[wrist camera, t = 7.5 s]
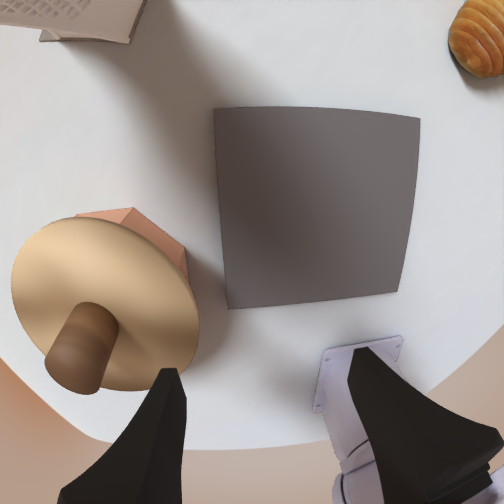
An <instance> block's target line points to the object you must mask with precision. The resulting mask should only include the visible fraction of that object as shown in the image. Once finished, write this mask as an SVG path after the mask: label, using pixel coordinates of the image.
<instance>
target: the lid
mask: <svg viewBox="0 0 504 504" xmlns="http://www.w3.org/2000/svg"><path fill="white" fill-rule="evenodd" d="M11 293H12V299H13V303H14V307H15V310H16V313H17V316H18V318H19V320H20V322H21V324H22V326H23V328H24V330H25V331H26V333H27V335H28V336H29V338H30V339H31V340H32V342H33V343H34V344H35V346H36V347H37V348H38V349H39V350H40V351H41V352H42V353H43V354H44V355H45V356H46V358H45V367H46V369H47V371H48V373H49V374H50V376H51V377H52V378H53V379H54V380H55V381H56V382H57V383H58V384H60V385H61V386H62V387H64V388H66V389H68V390H70V391H72V392H75V393H78V394H83V395H90V394H94V393H96V392H97V391H98V390H99V388H100V387H101V388H106V389H110V390H117V391H143V390H149V389H150V388H151V387H152V385H153V383H154V381H155V379H156V377H157V375H158V373H159V371H160V369H162V368H177V371H178V374H179V375H180V374H181V373H182V372H183V371H184V370H185V369H186V368H187V367H188V365H189V364H190V362H191V361H192V359H193V357H194V355H195V352H196V349H197V345H198V337H199V313H198V308H197V303H196V301H195V298H194V295H193V292H192V290H191V288H190V286H189V284H188V282H187V280H186V279H185V277H184V276H183V274H182V273H181V271H180V270H179V268H178V267H177V266H176V265H175V264H174V263H173V261H172V260H171V259H170V258H169V257H168V256H167V255H166V254H165V253H164V252H163V251H162V250H161V249H160V248H158V247H157V246H156V245H155V244H153V243H152V242H151V241H149V240H148V239H147V238H145V237H144V236H142V235H140V234H138V233H137V232H135V231H133V230H131V229H130V228H127V227H125V226H122V225H120V224H118V223H115V222H111V221H108V220H104V219H100V218H93V217H71V218H65V219H61V220H58V221H55V222H52V223H50V224H48V225H46V226H45V227H43V228H41V229H40V230H39V231H38V232H36V233H35V234H34V235H33V236H32V237H31V238H29V239H28V240H27V241H26V242H25V244H24V245H23V246H22V247H21V249H20V250H19V252H18V254H17V256H16V258H15V261H14V264H13V268H12V274H11Z"/></svg>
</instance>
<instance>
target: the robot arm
mask: <svg viewBox="0 0 504 504" xmlns="http://www.w3.org/2000/svg"><path fill="white" fill-rule="evenodd" d="M403 341H404V339H403V337H402V336H396V337H391V338H387V339H382V340H376V341H371V342H366V343H360V344H355V345H349V346H343V347H336V348H330V349H326V350H324V352H323V353H322V359H321V365H320V371H319V376H318V382H317V387H316V393H315V398H314V403H313V408H312V410H313V413H320V412H322V413H323V416H324V419H325V422H326V426H327V429H328V432H329V436H330V439H331V442H332V445H333V449H334V452H335V454H336V457H337V458H338V460H339V461H340V466H341V469H342V472H341V473H340V474H338V475H337V476H336V478H335V481H334V485H333V489H332V498H333V504H504V465H503V466H501V467H500V468H498V469H497V470H495V471H494V472H493V473H492V474H490V475H489V473H488V470H489V469H490V466H489V464H488V462H489V461H490V460H491V459H492V458H493V457H494V456H495V455H496V454H497V453H498V452H499V451H500V450H501V449H502V448H503V446H504V440H503V439H502V437H501V436H500V434H499V432H498V430H497V429H496V428H493V427H490V426H486V425H483V424H480V423H476V422H474V421H471V420H469V419H466V418H464V417H462V416H460V415H457V414H455V413H453V412H451V411H449V410H447V409H446V408H444V407H442V406H440V405H438V404H437V403H435V402H434V401H432V400H431V399H429V398H427V397H426V396H425V395H423V394H422V393H420V392H419V391H418V390H416V389H415V388H414V387H412V386H411V385H410V384H409V383H407V381H406V380H405V378H404V376H403V374H402V373H401V371H400V369H399V368H398V366H397V364H396V361H397V358H398V355H399V353H400V350H401V347H402V344H403ZM326 358H327V359H326ZM186 420H187V398H186V395H185V392H184V389H183V386H182V383H181V380H180V377H179V374H178V371H177V368H162V369H160V371H159V373H158V375H157V377H156V379H155V381H154V383H153V385H152V387H151V388H150V390H149V392H148V394H147V396H146V397H145V399H144V401H143V402H142V404H141V406H140V407H139V409H138V411H137V412H136V414H135V415H134V417H133V418H132V420H131V421H130V423H129V424H128V426H127V427H126V428H125V430H124V431H123V432H122V434H121V435H120V436H119V437H118V439H117V440H116V441H115V442H114V443H113V445H112V446H111V447H110V448H109V449H108V450H107V451H106V452H105V453H104V454H103V455H102V456H101V457H100V458H99V459H98V461H96V462H95V463H94V464H93V465H92V466H91V467H90V468H88V469H87V470H86V471H85V472H84V473H83V474H81V476H79V477H78V478H76V479H75V480H73V481H72V482H71V483H69V484H68V485H66V486H65V487H63V488H62V489H61V491H60V494H59V497H58V502H57V504H182V491H181V465H182V454H183V446H184V438H185V429H186Z"/></svg>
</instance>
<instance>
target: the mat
mask: <svg viewBox="0 0 504 504" xmlns="http://www.w3.org/2000/svg"><path fill="white" fill-rule="evenodd" d="M214 127H215V146H216V163H217V179H218V194H219V208H220V222H221V235H222V248H223V260H224V272H225V283H226V294H227V305H228V310H229V309H243V308H255V307H267V306H279V305H289V304H300V303H309V302H319V301H328V300H336V299H345V298H353V297H361V296H368V295H376V294H383V293H390V292H397V291H398V287H399V282H400V278H401V273H402V269H403V264H404V259H405V254H406V248H407V243H408V237H409V231H410V225H411V219H412V212H413V205H414V197H415V188H416V179H417V169H418V157H419V141H420V118H415V117H409V116H403V115H396V114H388V113H380V112H371V111H361V110H350V109H337V108H319V107H236V108H218V109H214Z"/></svg>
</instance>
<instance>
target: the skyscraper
mask: <svg viewBox="0 0 504 504" xmlns="http://www.w3.org/2000/svg"><path fill="white" fill-rule="evenodd" d="M145 3H146V0H0V25H11V26H19V27H27V28H34V29H43V30H42V32H41V35H40V38H39V41H57V40H78V41H103V42H117V43H123V44H130V42H131V39H132V36H133V33H134V31H135V28H136V25H137V23H138V20H139V17H140V15H141V12H142V10H143V7H144V5H145Z"/></svg>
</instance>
